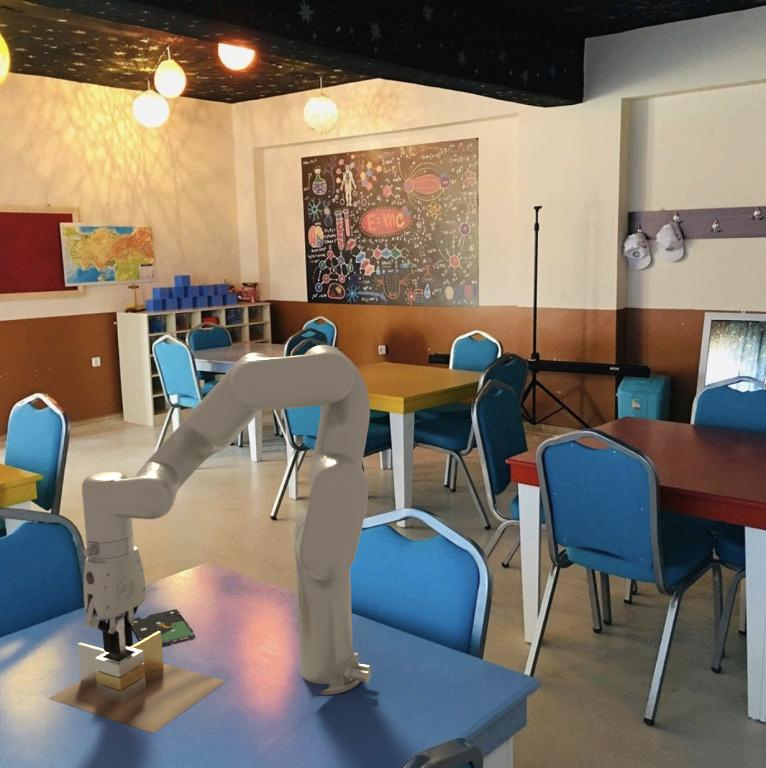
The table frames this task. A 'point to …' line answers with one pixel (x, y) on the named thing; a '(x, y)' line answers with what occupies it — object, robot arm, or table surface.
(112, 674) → the hinge
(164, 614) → the disk drive
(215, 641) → the table surface
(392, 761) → the table surface
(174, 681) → the walnut board
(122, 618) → the hinge pin
